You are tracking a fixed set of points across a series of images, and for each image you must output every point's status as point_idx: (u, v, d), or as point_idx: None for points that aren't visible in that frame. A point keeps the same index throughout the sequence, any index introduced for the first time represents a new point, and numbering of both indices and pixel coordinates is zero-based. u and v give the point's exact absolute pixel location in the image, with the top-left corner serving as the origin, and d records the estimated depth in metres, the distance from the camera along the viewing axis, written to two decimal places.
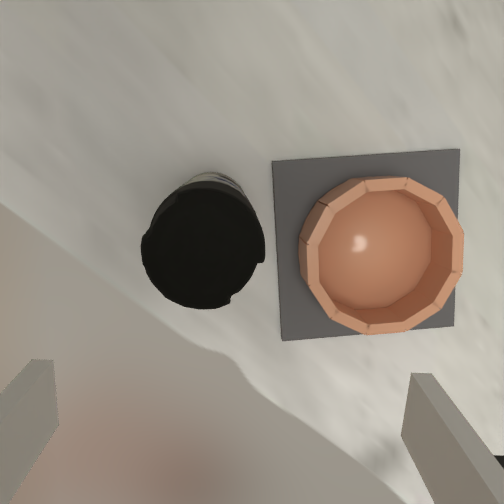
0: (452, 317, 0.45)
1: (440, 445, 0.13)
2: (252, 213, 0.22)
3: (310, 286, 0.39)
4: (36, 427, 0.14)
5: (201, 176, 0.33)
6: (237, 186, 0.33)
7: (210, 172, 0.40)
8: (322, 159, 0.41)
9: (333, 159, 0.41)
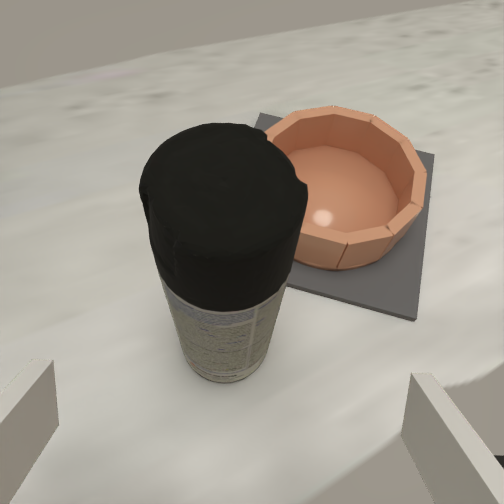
0: (424, 153, 0.43)
1: (440, 445, 0.13)
2: None
3: (348, 242, 0.32)
4: (36, 427, 0.14)
5: None
6: None
7: None
8: None
9: None
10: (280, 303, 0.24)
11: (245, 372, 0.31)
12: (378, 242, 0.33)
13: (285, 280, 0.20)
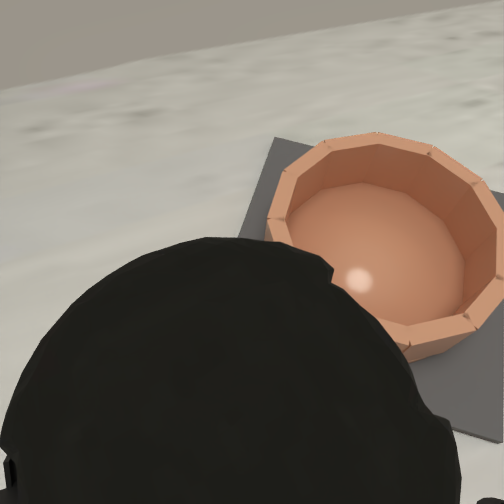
0: (491, 192, 0.33)
1: None
2: (182, 243, 0.08)
3: (412, 342, 0.22)
4: None
5: None
6: None
7: None
8: None
9: None
10: None
11: None
12: (453, 338, 0.23)
13: None
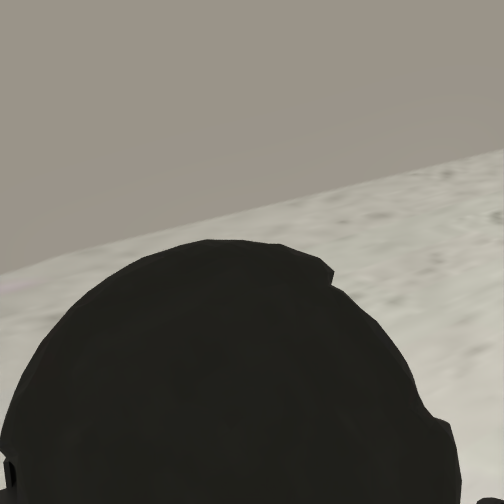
0: None
1: None
2: (181, 246, 0.08)
3: None
4: None
5: None
6: None
7: None
8: None
9: None
10: None
11: None
12: None
13: None
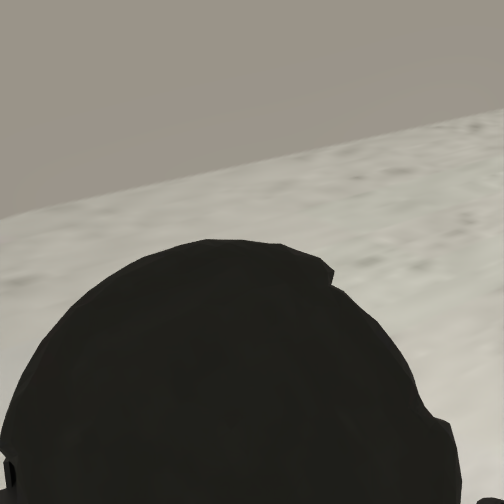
0: None
1: None
2: (182, 246, 0.08)
3: None
4: None
5: None
6: None
7: None
8: None
9: None
10: None
11: None
12: None
13: None
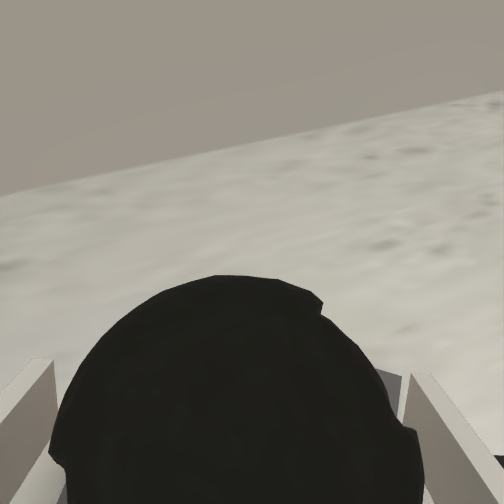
0: (386, 374, 0.29)
1: (439, 445, 0.13)
2: (194, 281, 0.09)
3: None
4: (36, 427, 0.14)
5: None
6: None
7: None
8: None
9: (65, 493, 0.25)
10: None
11: None
12: None
13: None
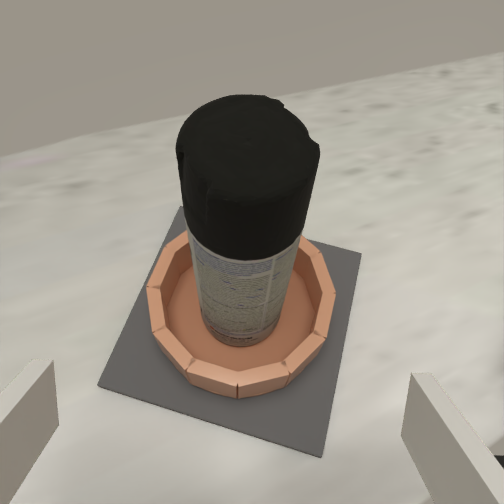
0: (350, 252, 0.41)
1: (440, 445, 0.13)
2: None
3: (239, 384, 0.30)
4: (36, 427, 0.14)
5: None
6: None
7: None
8: (123, 330, 0.36)
9: (130, 319, 0.37)
10: (293, 262, 0.27)
11: (260, 335, 0.33)
12: (274, 380, 0.31)
13: (299, 234, 0.23)
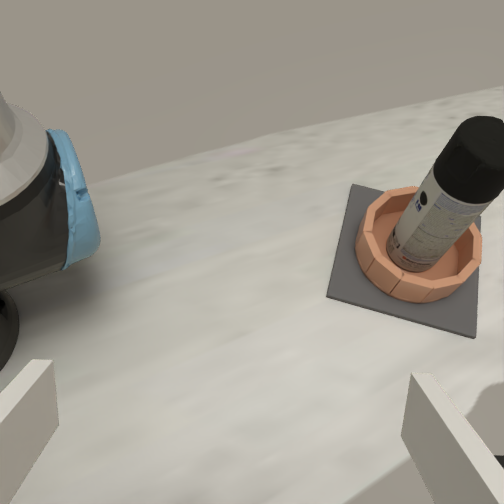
0: None
1: (440, 445, 0.13)
2: (474, 117, 0.40)
3: (434, 287, 0.49)
4: (36, 427, 0.14)
5: (407, 210, 0.49)
6: None
7: (388, 239, 0.56)
8: (335, 262, 0.56)
9: (337, 256, 0.56)
10: None
11: (434, 262, 0.53)
12: (452, 286, 0.50)
13: None
